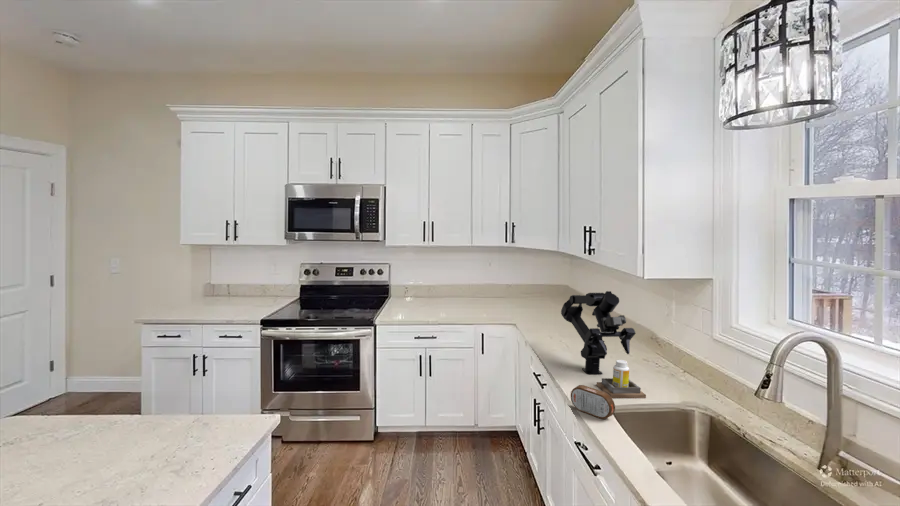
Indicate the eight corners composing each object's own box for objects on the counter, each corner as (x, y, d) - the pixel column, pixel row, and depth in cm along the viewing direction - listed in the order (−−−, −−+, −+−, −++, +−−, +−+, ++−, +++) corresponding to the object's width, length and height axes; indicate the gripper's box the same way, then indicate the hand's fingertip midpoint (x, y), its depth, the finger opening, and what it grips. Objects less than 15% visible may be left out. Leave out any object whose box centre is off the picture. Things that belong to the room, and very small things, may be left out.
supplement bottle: (628, 386, 168) (629, 360, 167) (628, 391, 163) (629, 364, 162) (612, 384, 170) (614, 358, 169) (612, 389, 165) (613, 362, 164)
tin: (615, 420, 141) (616, 394, 140) (610, 423, 139) (611, 397, 138) (573, 405, 152) (574, 381, 151) (568, 407, 150) (569, 383, 149)
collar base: (596, 385, 172) (596, 377, 172) (628, 385, 173) (629, 377, 173) (610, 398, 159) (611, 389, 159) (645, 398, 160) (646, 389, 160)
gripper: (589, 308, 171) (602, 343, 161) (634, 307, 174) (649, 342, 164) (579, 323, 179) (591, 358, 169) (622, 323, 182) (636, 357, 172)
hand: (617, 354), depth 168 cm, fingers open, 9 cm apart
